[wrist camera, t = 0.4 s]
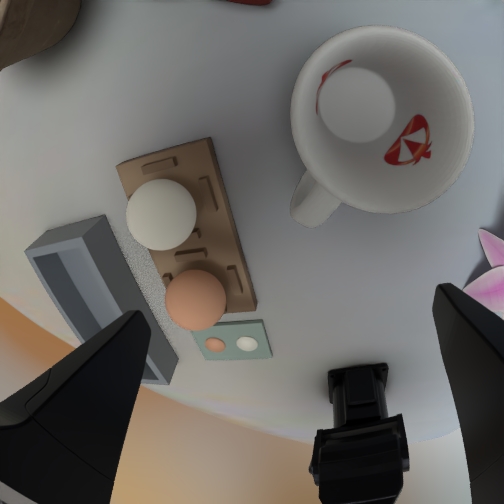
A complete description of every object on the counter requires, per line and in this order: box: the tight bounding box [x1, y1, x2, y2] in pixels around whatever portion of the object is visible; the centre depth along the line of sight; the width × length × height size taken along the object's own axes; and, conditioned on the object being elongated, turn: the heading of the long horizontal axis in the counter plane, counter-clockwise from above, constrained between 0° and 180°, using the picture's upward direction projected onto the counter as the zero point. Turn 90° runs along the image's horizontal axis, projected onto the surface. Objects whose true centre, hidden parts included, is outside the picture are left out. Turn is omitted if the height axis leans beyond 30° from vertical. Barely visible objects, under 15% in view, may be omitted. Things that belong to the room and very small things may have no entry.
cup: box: [290, 25, 474, 228], centre depth 14 cm, size 11×8×8 cm
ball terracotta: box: [165, 269, 226, 331], centre depth 22 cm, size 4×4×4 cm
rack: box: [116, 137, 257, 314], centre depth 23 cm, size 14×7×2 cm, turn 13°
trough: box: [24, 215, 178, 385], centre depth 27 cm, size 18×8×4 cm, turn 13°
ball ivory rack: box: [126, 179, 196, 251], centre depth 19 cm, size 4×4×4 cm
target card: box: [190, 320, 272, 360], centre depth 29 cm, size 5×7×1 cm
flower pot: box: [0, 0, 81, 71], centre depth 10 cm, size 12×11×10 cm
